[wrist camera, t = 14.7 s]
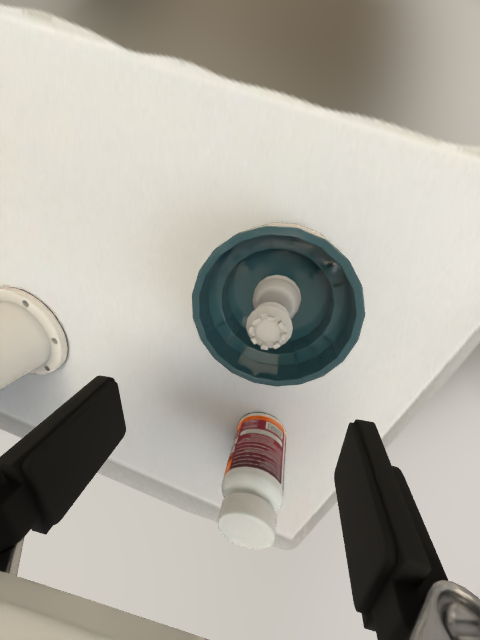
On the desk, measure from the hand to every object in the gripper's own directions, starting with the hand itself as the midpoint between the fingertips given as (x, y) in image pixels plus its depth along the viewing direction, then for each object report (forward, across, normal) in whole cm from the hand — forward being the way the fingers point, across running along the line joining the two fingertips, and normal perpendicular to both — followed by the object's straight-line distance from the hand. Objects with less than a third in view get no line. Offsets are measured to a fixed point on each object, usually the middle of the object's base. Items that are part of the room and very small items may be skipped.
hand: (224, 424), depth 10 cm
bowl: (+16, -1, 0) cm, 16 cm away
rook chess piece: (+16, -1, 0) cm, 16 cm away
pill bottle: (+17, -1, +18) cm, 24 cm away
